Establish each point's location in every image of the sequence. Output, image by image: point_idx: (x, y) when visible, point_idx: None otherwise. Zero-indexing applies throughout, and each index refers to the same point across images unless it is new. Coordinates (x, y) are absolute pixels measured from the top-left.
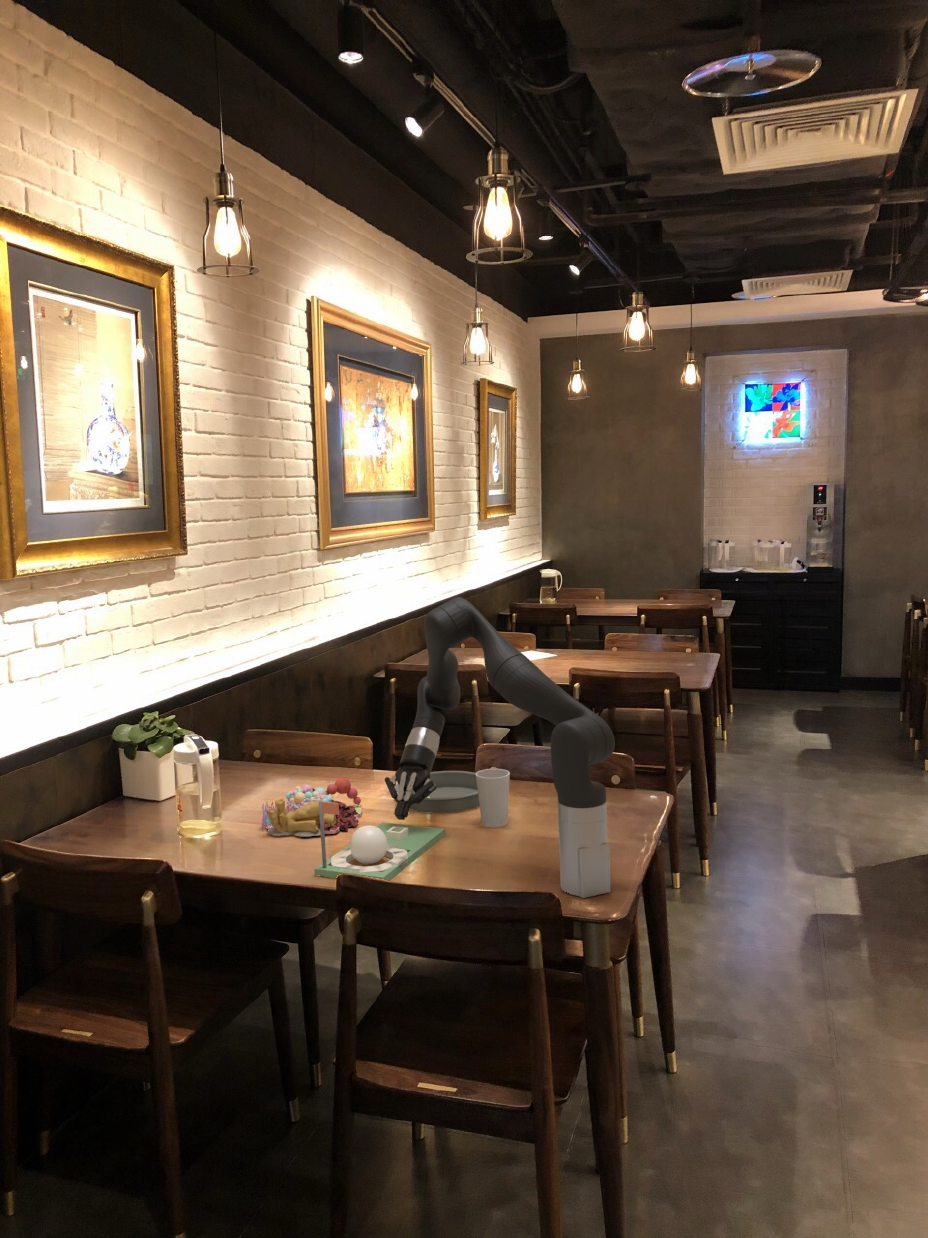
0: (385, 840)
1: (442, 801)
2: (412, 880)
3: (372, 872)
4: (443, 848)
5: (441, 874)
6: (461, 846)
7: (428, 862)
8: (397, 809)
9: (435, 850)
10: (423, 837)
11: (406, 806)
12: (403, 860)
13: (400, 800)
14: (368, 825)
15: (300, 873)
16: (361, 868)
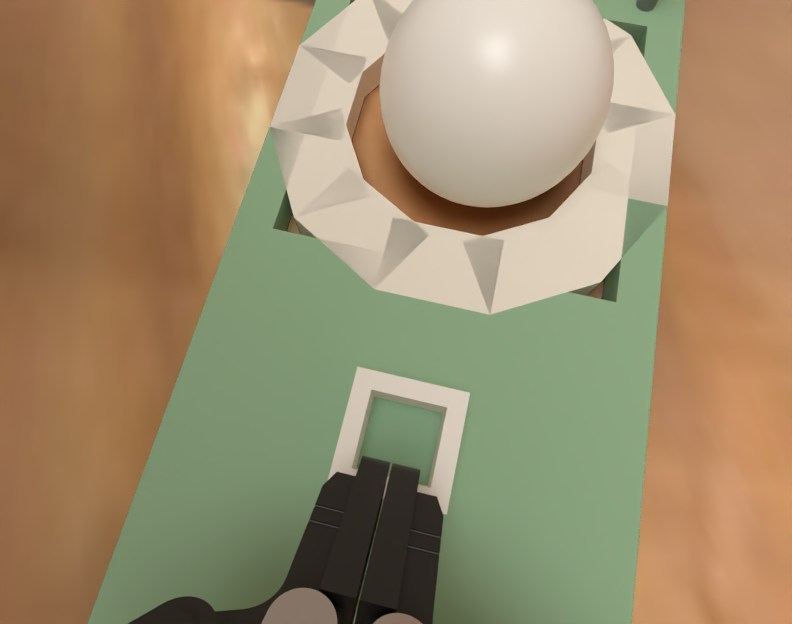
0: (383, 60)
1: None
2: (234, 7)
3: None
4: (114, 378)
5: (115, 65)
6: (6, 416)
7: (184, 184)
8: (408, 513)
9: (159, 344)
10: (223, 438)
11: (311, 548)
12: (288, 96)
13: (387, 618)
14: (520, 19)
15: (747, 39)
16: None
